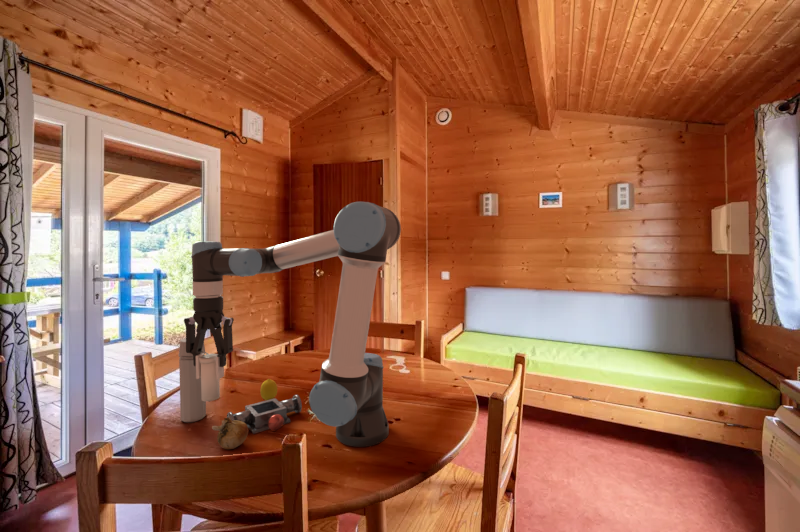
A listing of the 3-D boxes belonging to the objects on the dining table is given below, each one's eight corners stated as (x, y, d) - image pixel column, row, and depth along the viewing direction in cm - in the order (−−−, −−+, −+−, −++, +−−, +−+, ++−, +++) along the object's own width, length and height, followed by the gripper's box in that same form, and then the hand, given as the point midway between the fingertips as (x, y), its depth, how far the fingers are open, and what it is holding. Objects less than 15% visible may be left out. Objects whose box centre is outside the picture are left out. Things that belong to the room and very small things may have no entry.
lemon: (271, 405, 124) (271, 382, 123) (257, 404, 125) (256, 381, 124) (280, 399, 129) (280, 376, 129) (266, 397, 130) (265, 375, 130)
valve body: (310, 421, 112) (309, 403, 112) (238, 444, 99) (238, 424, 99) (291, 406, 123) (291, 389, 123) (224, 424, 110) (224, 406, 110)
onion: (235, 456, 93) (234, 425, 93) (209, 451, 96) (209, 421, 95) (254, 441, 101) (254, 413, 100) (230, 437, 103) (229, 409, 102)
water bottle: (176, 425, 109) (174, 343, 108) (184, 414, 117) (182, 337, 116) (210, 421, 112) (208, 341, 111) (215, 410, 120) (214, 335, 118)
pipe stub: (222, 398, 104) (222, 356, 103) (202, 403, 100) (201, 360, 100) (218, 392, 108) (217, 352, 107) (198, 397, 104) (197, 356, 104)
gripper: (246, 294, 106) (247, 374, 107) (186, 294, 107) (189, 372, 108) (231, 298, 98) (233, 383, 99) (168, 297, 100) (170, 381, 101)
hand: (210, 377), depth 104 cm, fingers closed on pipe stub, 5 cm apart
